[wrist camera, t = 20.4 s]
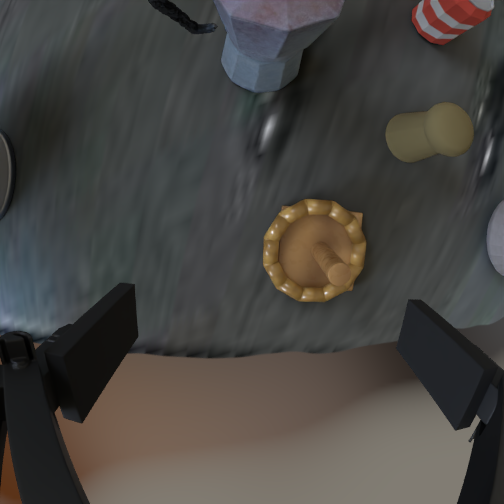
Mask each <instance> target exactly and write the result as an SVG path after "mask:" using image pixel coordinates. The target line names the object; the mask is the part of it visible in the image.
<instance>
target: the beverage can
mask: <svg viewBox="0 0 504 504" xmlns="http://www.w3.org/2000/svg"><path fill="white" fill-rule="evenodd" d="M493 8H495V7H494V0H422V1H421V2H420V3H419V4H418V5H417V6H416V7H415V8H414V9H413V10H412V22H413V24H414V25H415V27H416V29H417V31H418V32H419V34H421V35H422V36H423V37H425V38H426V39H427V40H428V41H430V42H431V43H435V44H440V45H444V44H446V43H447V42H449V41H450V40H452V39H454V38H455V37H457V36H459V35H460V34H462V33H463V32H465V31H467V30H468V29H470V28H472V27H473V26H475V25H477V24H479V23H480V22H482V21H484V20H485V19H486V18H488V17H489V16H491V10H492V9H493Z"/></svg>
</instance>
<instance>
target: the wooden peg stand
mask: <svg viewBox="0 0 504 504" xmlns="http://www.w3.org/2000/svg"><path fill="white" fill-rule="evenodd" d="M288 207H290V206H284V205H282V208H281V211H283V210H284V209H286V208H288ZM349 212H350V213H352V214H353V215H355V216H356V218H357V220H358V223H359V225H360V227H361V226H362V217H363V213H360V212H353V211H349ZM351 248H352V242H351V240H350V238H349V236H348V234H347V231H346V229H345V227H344V226H343V225H342V224H340V223H339V222H337V221H336V220H334V219H333V218H331V217H330V216H328V215H309V214H308V215H306V216H304V217H303V218H301V219H299V220H297V221H295V222H293V223H291V224H290V225H289V227H288V228H287V230H286V231H285V233H284V234H283V236H282V237H281V239H280V241H279V253H278V262H279V263H280V265H281V267H282V269H283V271H284V273H285V275H286V277H287V278H289V279H290V280H292V281H294V282H295V283H297V284H299V285H300V286H302V287H324V286H326V285H328V284H330V283H332V284H334V285H336V286H341V285H344V284H346V283H347V282H348V281H349V279H350V277H351V270H350V268H349V266H348V265H349V263H350V258H351ZM353 285H354V283H353V284H352V285H351V287H350V288H349V289H348V290H347V291H352V290H353Z"/></svg>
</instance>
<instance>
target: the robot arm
mask: <svg viewBox="0 0 504 504" xmlns="http://www.w3.org/2000/svg"><path fill="white" fill-rule="evenodd" d="M15 177H16V165H15V156H14V151H13V148H12V145H11V142H10V140H9V138H8V137H7V135H6V134H5V133H4V132H3V131H2V130H1V129H0V220H1V218H2V217H3V216H4V214H5V213H6V211H7V209H8V207H9V205H10V202H11V199H12V196H13V191H14V186H15ZM137 338H138V326H137V314H136V299H135V284H128V283H119V284H118V285H117V286H116V287H114V288H113V289H112V290H111V291H110V292H109V293H108V294H106V295H105V296H104V297H103V298H102V299H101V300H100V301H98V302H97V303H96V304H95V305H94V306H93V307H92V308H90V309H89V310H88V311H87V312H86V313H85V314H84V315H83V316H82V317H80V318H79V319H78V320H77V321H76V322H75V323H74V324H68V325H66V326H63V327H61V328H59V329H58V330H57V331H56V332H55V333H53V334H52V336H50V337H49V338H48V339H47V341H44V342H43V343H42V344H41V345H40V346H39V347H38V348H37V349H36V350H35V348H34V344H33V339H32V337H31V335H30V334H29V333H27V332H23V331H13V332H9V333H6V334H4V335H2V336H1V337H0V358H1V362H2V365H0V485H1V474H2V464H3V456H4V448H5V441H6V435H7V430H8V437H9V444H10V450H11V456H12V462H13V467H14V471H15V476H16V481H17V485H18V489H19V493H20V497H21V501H22V504H90V503H89V501H88V499H87V496H86V494H85V492H84V490H83V488H82V485H81V483H80V481H79V478H78V476H77V474H76V471H75V469H74V467H73V464H72V461H71V459H70V456H69V453H68V451H67V448H66V445H65V443H64V440H63V437H62V434H61V431H60V428H59V425H58V421H57V419H56V416H55V413H54V412H55V411H56V410H57V408H58V407H59V406H60V409H61V411H62V414H63V417H64V418H66V419H68V420H72V421H75V422H79V423H83V421H84V420H85V418H86V417H87V415H88V413H89V412H90V410H91V409H92V407H93V405H94V403H95V402H96V401H97V399H98V397H99V396H100V394H101V393H102V391H103V390H104V388H105V386H106V385H107V383H108V382H109V380H110V379H111V377H112V376H113V374H114V372H115V371H116V369H117V368H118V366H119V365H120V363H121V362H122V360H123V359H124V357H125V356H126V354H127V353H128V351H129V350H130V348H131V347H132V345H133V344H134V342H135V341H136V339H137ZM396 349H397V350H398V351H399V353H400V354H401V355H402V357H403V358H404V359H405V361H406V362H407V363H408V365H409V366H410V367H411V369H412V370H413V372H414V373H415V374H416V376H417V377H418V378H419V380H420V381H421V383H422V384H423V385H424V387H425V388H426V389H427V391H428V392H429V393H430V395H431V396H432V398H433V399H434V401H435V402H436V403H437V405H438V406H439V408H440V409H441V411H442V412H443V413H444V415H445V416H446V418H447V419H448V421H449V422H450V423H451V425H452V426H453V428H454V429H455V430H459V429H463V428H467V427H470V425H471V423H472V422H473V420H474V418H475V416H476V414H477V415H478V417H479V418H480V419H481V420H480V422H479V424H478V426H477V427H476V429H475V431H474V433H473V434H472V437H471V438H470V440H469V442H471V441H472V439H474V443H473V448H472V452H471V456H470V461H469V465H468V469H467V472H466V476H465V479H464V483H463V486H462V489H461V493H460V496H459V499H458V502H457V504H504V370H503V369H502V368H500V367H499V366H498V365H497V364H496V363H495V362H494V361H493V360H491V358H488V356H487V355H486V354H485V353H483V351H482V350H481V349H480V348H478V347H477V346H476V345H474V344H472V343H471V342H470V341H469V340H468V339H467V338H466V337H464V336H463V335H462V334H461V333H460V332H459V331H458V330H456V329H455V328H454V327H453V326H452V325H451V324H449V323H448V322H447V321H446V320H445V319H444V318H442V317H441V316H440V315H439V314H438V313H436V312H435V311H434V310H433V309H432V308H430V307H429V306H428V305H427V304H426V303H424V302H423V301H422V300H409V299H408V303H407V308H406V312H405V316H404V320H403V324H402V328H401V332H400V336H399V340H398V344H397V347H396Z"/></svg>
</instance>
